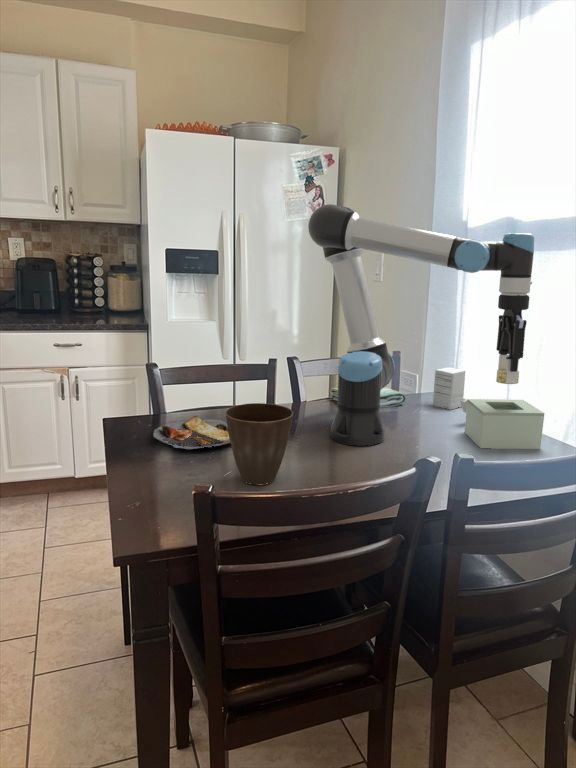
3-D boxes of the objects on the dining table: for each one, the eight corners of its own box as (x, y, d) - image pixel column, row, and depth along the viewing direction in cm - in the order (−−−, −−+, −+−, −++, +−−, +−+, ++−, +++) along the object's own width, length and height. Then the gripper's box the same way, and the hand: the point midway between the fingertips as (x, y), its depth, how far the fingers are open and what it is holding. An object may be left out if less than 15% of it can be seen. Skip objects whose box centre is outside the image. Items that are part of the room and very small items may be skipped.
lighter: (475, 421, 178) (477, 396, 176) (479, 422, 176) (481, 397, 174) (458, 424, 174) (460, 398, 173) (462, 425, 173) (464, 400, 171)
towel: (327, 398, 204) (328, 384, 203) (380, 394, 211) (381, 380, 210) (350, 412, 188) (350, 396, 186) (406, 406, 195) (407, 392, 194)
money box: (480, 448, 153) (483, 412, 151) (464, 432, 166) (467, 399, 164) (540, 449, 153) (544, 413, 151) (519, 432, 167) (523, 399, 164)
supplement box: (444, 402, 200) (447, 366, 197) (463, 406, 194) (466, 370, 191) (431, 405, 195) (434, 369, 192) (450, 410, 190) (453, 373, 187)
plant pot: (293, 468, 137) (294, 404, 133) (289, 494, 122) (291, 422, 119) (231, 466, 138) (231, 402, 134) (220, 491, 123) (219, 420, 120)
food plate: (137, 436, 159) (137, 424, 158) (205, 420, 175) (205, 409, 174) (191, 462, 142) (191, 448, 141) (260, 442, 158) (260, 430, 157)
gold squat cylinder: (500, 384, 152) (501, 373, 152) (493, 379, 158) (494, 369, 157) (521, 384, 152) (522, 373, 152) (513, 379, 158) (514, 369, 157)
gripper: (543, 296, 141) (534, 388, 146) (515, 291, 159) (508, 373, 164) (512, 296, 141) (504, 388, 146) (488, 291, 159) (482, 373, 164)
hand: (506, 380), depth 155 cm, fingers closed on gold squat cylinder, 5 cm apart
